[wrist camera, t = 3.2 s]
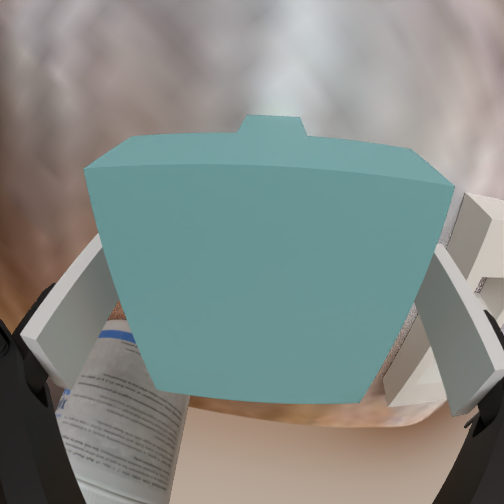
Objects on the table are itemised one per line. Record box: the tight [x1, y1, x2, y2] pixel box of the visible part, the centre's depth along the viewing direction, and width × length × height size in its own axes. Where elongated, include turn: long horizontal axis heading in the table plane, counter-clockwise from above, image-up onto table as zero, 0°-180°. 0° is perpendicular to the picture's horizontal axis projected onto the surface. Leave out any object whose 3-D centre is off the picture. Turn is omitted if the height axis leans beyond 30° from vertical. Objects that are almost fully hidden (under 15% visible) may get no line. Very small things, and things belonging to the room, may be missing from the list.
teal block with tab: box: [84, 115, 455, 404], centre depth 12 cm, size 9×10×8 cm
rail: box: [383, 192, 504, 407], centre depth 18 cm, size 6×18×3 cm, turn 179°
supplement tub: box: [55, 319, 191, 504], centre depth 18 cm, size 10×10×15 cm
